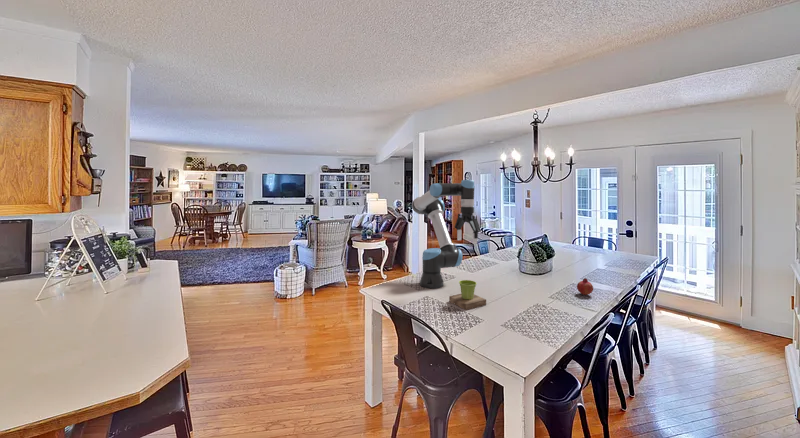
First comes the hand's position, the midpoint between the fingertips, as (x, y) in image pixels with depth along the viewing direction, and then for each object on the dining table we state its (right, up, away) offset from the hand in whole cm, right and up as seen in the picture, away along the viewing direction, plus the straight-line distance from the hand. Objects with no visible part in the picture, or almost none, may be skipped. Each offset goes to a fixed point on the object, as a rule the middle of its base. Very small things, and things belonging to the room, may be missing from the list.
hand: (466, 242), depth 185 cm
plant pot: (-3, -30, -14) cm, 33 cm away
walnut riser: (-3, -32, -14) cm, 35 cm away
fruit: (+68, -31, -2) cm, 75 cm away
